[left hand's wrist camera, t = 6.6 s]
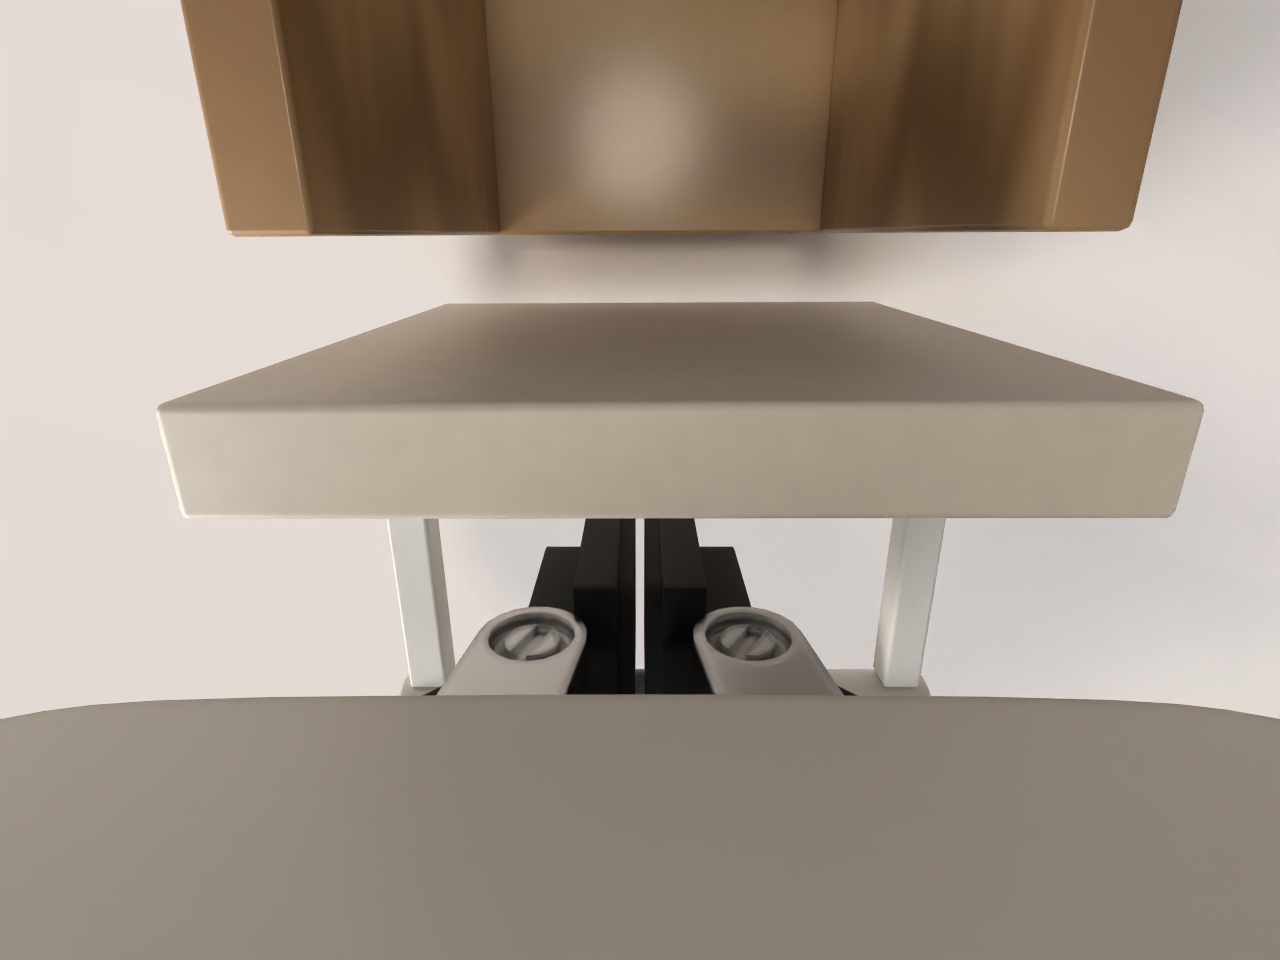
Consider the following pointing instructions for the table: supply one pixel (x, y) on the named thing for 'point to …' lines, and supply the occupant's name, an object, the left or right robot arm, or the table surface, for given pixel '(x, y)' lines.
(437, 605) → the drawer
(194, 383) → the table surface
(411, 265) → the table surface
